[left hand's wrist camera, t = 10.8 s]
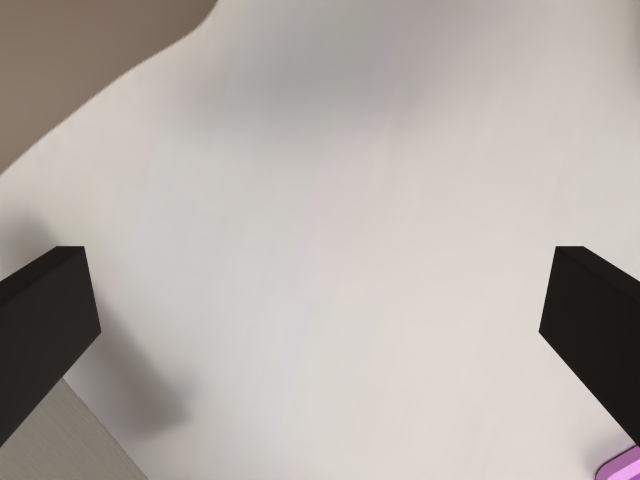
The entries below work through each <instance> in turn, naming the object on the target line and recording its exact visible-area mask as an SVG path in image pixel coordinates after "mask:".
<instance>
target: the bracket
mask: <svg viewBox="0 0 640 480" xmlns="http://www.w3.org/2000/svg"><path fill="white" fill-rule="evenodd" d="M596 480H640V448H639V447H638V446H636V447H634V448H633V449H631V450H629V451H628V452H626V453H624V454H622V455H621V456H619V457H617V458H615V459H614V460H612V461H610V462H609V463H607V464H605V465H604V466H603V467H602V468H601V469H600V470H599V472H598V473H597V476H596Z"/></svg>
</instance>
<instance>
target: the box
mask: <svg viewBox="0 0 640 480" xmlns="http://www.w3.org/2000/svg"><path fill="white" fill-rule="evenodd" d="M0 480H149V479H148V478H147V477H146V476H145V475H144V474H143V472H142V471H141V470H140V469H139V468H138V466H137V465H136V464H135V463H134V462H133V461H132V459H131V458H130V457H129V456H128V455H127V453H126V452H125V451H124V450H123V449H122V448H121V446H120V445H119V444H118V443H117V442H116V440H115V439H114V438H113V437H112V436H111V435H110V433H109V432H108V431H107V430H106V429H105V427H104V426H103V425H102V424H101V423H100V422H99V420H98V419H97V418H96V417H95V416H94V414H93V413H92V412H91V411H90V410H89V408H88V407H87V406H86V405H85V404H84V403H83V401H82V400H81V399H80V398H79V397H78V395H77V394H76V393H75V392H74V391H73V390H72V388H71V387H70V386H69V385H68V384H67V382H66V381H65V380H64V379H63V378H61V379H60V380H59V381H58V382H57V383H56V385H55V386H54V387H53V388H52V389H51V390H50V392H49V393H48V394H47V395H46V396H45V397H44V398H43V400H42V401H41V402H40V403H39V404H38V405H37V406H36V408H35V409H34V410H33V411H32V412H31V413H30V414H29V416H28V417H27V418H26V419H25V420H24V421H23V422H22V424H21V425H20V426H19V427H18V428H17V429H16V431H15V432H14V433H13V434H12V435H11V436H10V437H9V439H8V440H7V441H6V442H5V443H4V444H3V445H2V447H1V448H0Z"/></svg>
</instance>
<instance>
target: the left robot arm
mask: <svg viewBox="0 0 640 480" xmlns="http://www.w3.org/2000/svg"><path fill="white" fill-rule="evenodd" d="M100 333H101V328H100V323H99V318H98V313H97V308H96V303H95V298H94V293H93V288H92V283H91V278H90V273H89V268H88V263H87V258H86V253H85V248H84V246H56V247H55V248H53V249H51V250H50V251H48V252H47V253H45V254H43V255H42V256H40V257H39V258H37V259H35V260H34V261H32V262H31V263H29V264H28V265H26V266H24V267H23V268H21V269H20V270H18V271H16V272H15V273H13V274H12V275H10V276H8V277H7V278H5V279H4V280H2V281H0V448H1V447H2V445H3V444H4V443H5V442H6V441H7V440H8V439H9V437H10V436H11V435H12V434H13V433H14V432H15V431H16V429H17V428H18V427H19V426H20V425H21V424H22V422H23V421H24V420H25V419H26V418H27V417H28V416H29V414H30V413H31V412H32V411H33V410H34V409H35V408H36V406H37V405H38V404H39V403H40V402H41V401H42V400H43V398H44V397H45V396H46V395H47V394H48V393H49V392H50V390H51V389H52V388H53V387H54V386H55V385H56V383H57V382H58V381H59V380H60V379H61V378H62V377H63V375H64V374H65V373H66V372H67V371H68V370H69V369H70V367H71V366H72V365H73V364H74V363H75V362H76V361H77V359H78V358H79V357H80V356H81V355H82V354H83V353H84V351H85V350H86V349H87V348H88V347H89V346H90V345H91V343H92V342H93V341H94V340H95V339H96V338H97V336H98V335H99V334H100ZM539 333H540V334H541V335H542V336H543V338H544V339H545V340H546V341H547V342H548V343H549V345H550V346H551V347H552V348H553V349H554V350H555V351H556V353H557V354H558V355H559V356H560V357H561V358H562V359H563V361H564V362H565V363H566V364H567V365H568V366H569V367H570V369H571V370H572V371H573V372H574V373H575V374H576V375H577V377H578V378H579V379H580V380H581V381H582V382H583V383H584V385H585V386H586V387H587V388H588V389H589V390H590V392H591V393H592V394H593V395H594V396H595V397H596V398H597V400H598V401H599V402H600V403H601V404H602V405H603V406H604V408H605V409H606V410H607V411H608V412H609V413H610V414H611V416H612V417H613V418H614V419H615V420H616V421H617V422H618V424H619V425H620V426H621V427H622V428H623V429H624V431H625V432H626V433H627V434H628V435H629V436H630V437H631V439H632V440H633V441H634V442H635V443H636V444H637V445H638V447H639V448H640V281H638V280H636V279H635V278H633V277H632V276H630V275H628V274H627V273H625V272H624V271H622V270H620V269H619V268H617V267H616V266H614V265H612V264H611V263H609V262H608V261H606V260H605V259H603V258H601V257H600V256H598V255H597V254H595V253H593V252H592V251H590V250H589V249H587V248H585V247H584V246H556V248H555V253H554V258H553V263H552V268H551V273H550V278H549V283H548V288H547V293H546V298H545V303H544V308H543V313H542V318H541V323H540V328H539Z"/></svg>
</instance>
